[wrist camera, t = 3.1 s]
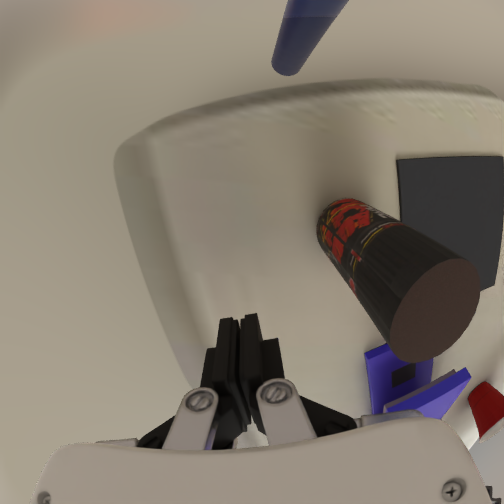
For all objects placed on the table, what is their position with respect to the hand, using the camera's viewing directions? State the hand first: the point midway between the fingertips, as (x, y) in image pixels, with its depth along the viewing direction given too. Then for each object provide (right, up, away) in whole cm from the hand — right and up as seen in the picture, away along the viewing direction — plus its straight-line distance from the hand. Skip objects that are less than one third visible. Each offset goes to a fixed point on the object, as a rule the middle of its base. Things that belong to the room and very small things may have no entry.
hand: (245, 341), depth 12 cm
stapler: (+23, -19, +22) cm, 37 cm away
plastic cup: (+48, -26, +25) cm, 60 cm away
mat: (+24, +6, +13) cm, 28 cm away
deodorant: (+9, +6, +13) cm, 17 cm away
